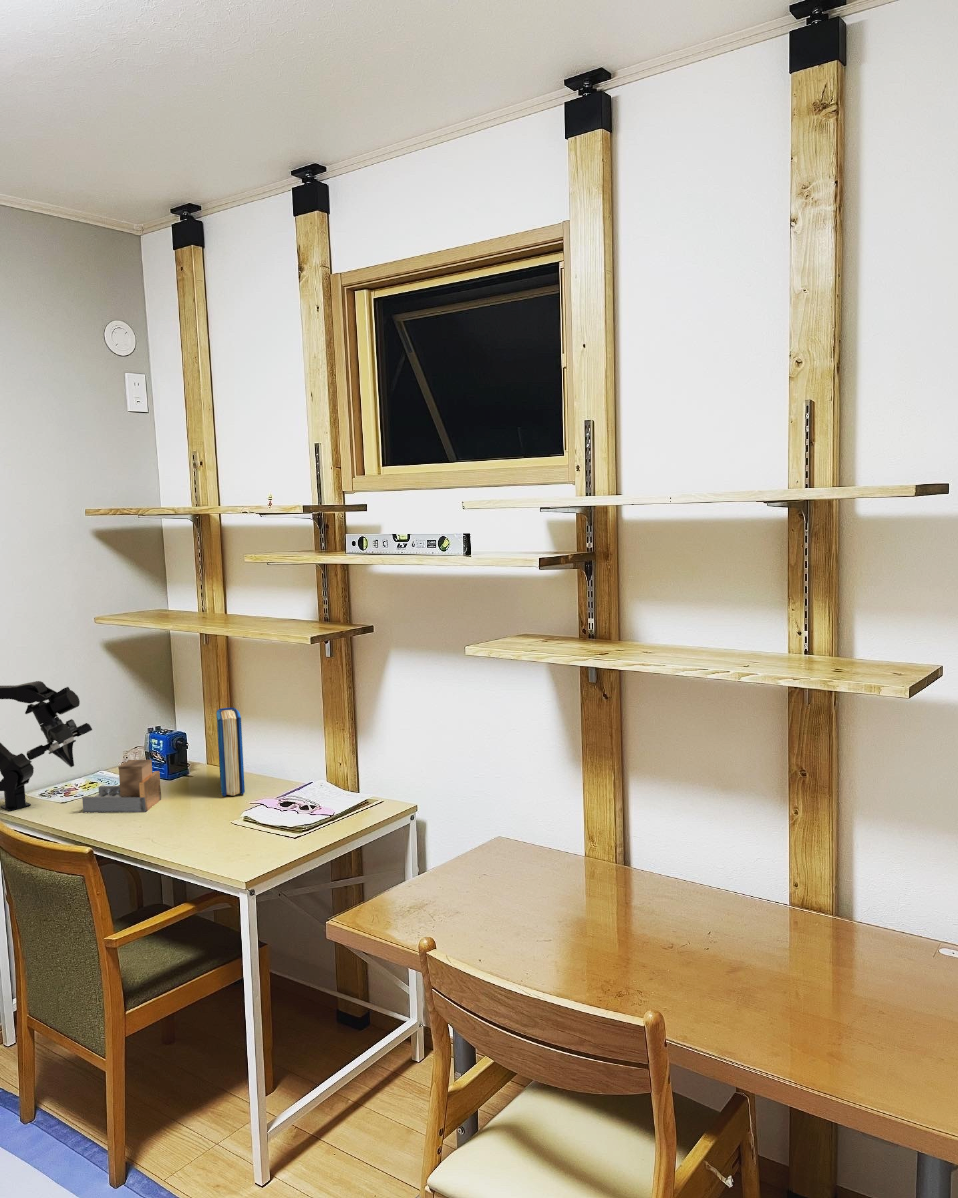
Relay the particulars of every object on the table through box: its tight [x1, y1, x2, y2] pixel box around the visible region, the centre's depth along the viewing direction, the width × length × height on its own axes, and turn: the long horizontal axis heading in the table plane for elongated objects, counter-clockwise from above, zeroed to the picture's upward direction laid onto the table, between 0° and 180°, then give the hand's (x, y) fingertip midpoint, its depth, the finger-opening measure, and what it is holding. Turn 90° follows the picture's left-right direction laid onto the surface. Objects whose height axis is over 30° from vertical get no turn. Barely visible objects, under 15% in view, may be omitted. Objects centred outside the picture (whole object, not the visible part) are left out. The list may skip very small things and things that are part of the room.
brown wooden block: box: [118, 759, 153, 796], centre depth 289 cm, size 7×8×10 cm
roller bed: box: [82, 770, 162, 814], centre depth 290 cm, size 19×12×9 cm, turn 87°
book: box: [216, 707, 246, 797], centre depth 305 cm, size 22×7×25 cm, turn 17°
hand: (72, 766), depth 290 cm, fingers closed
